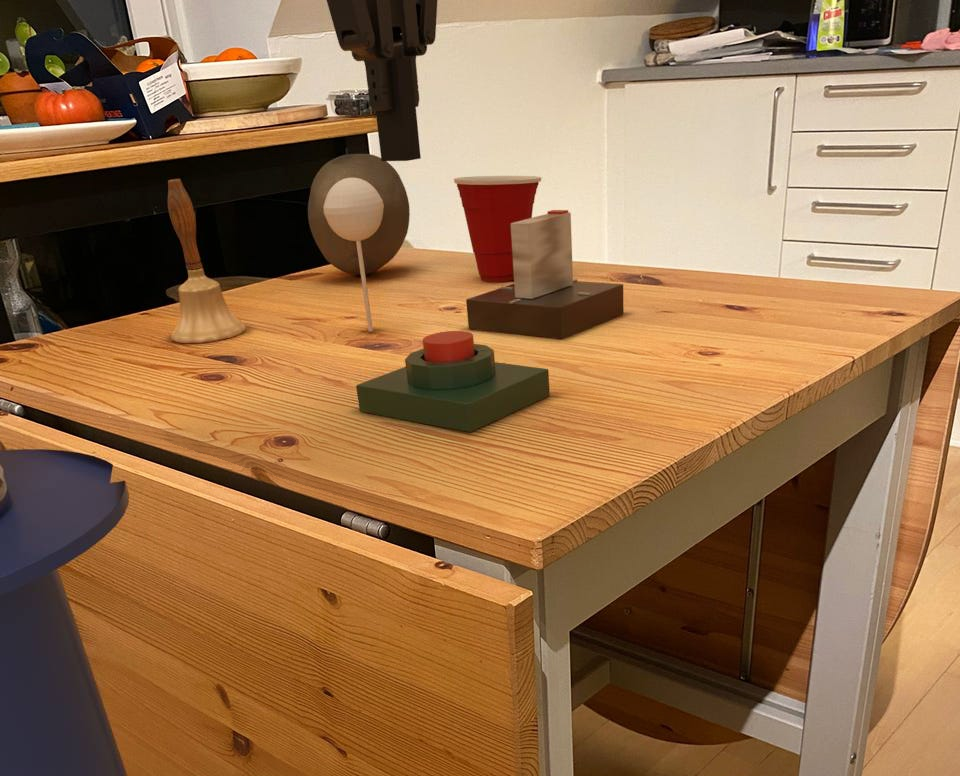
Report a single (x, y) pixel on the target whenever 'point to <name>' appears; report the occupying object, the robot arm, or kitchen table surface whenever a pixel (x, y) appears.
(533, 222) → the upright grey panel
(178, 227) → the hand bell
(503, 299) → the plate
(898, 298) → the kitchen table surface
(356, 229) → the lollipop
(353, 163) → the brown ovoid
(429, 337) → the bell button
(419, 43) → the robot arm
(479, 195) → the plastic cup
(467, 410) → the button box
